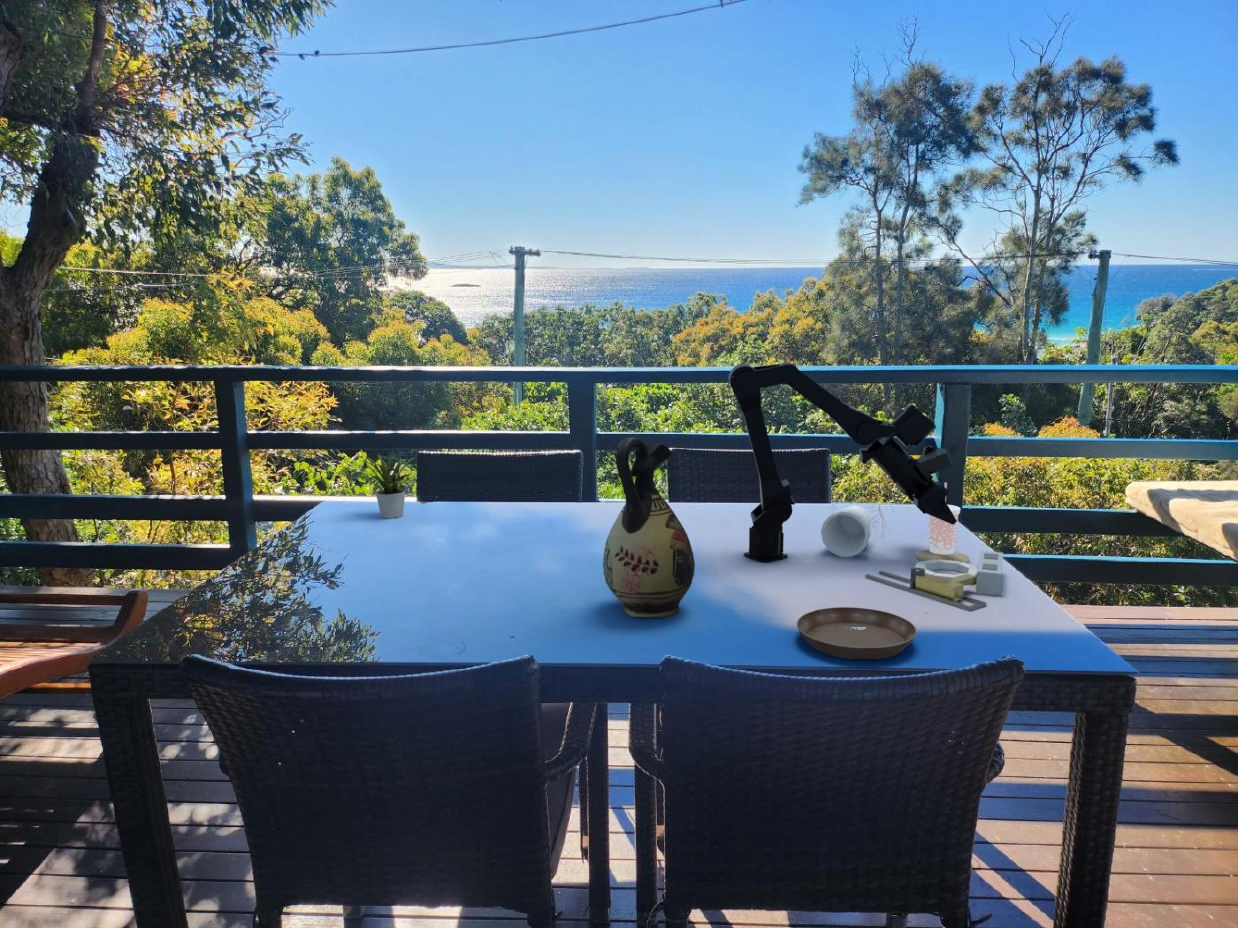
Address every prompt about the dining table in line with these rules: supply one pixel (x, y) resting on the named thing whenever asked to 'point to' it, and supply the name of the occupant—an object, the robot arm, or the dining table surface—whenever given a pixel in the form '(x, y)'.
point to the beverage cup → (943, 532)
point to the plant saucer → (856, 632)
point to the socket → (972, 571)
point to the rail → (976, 602)
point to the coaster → (941, 556)
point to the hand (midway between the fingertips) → (950, 518)
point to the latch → (940, 584)
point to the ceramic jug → (646, 539)
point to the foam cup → (846, 531)
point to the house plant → (389, 489)
